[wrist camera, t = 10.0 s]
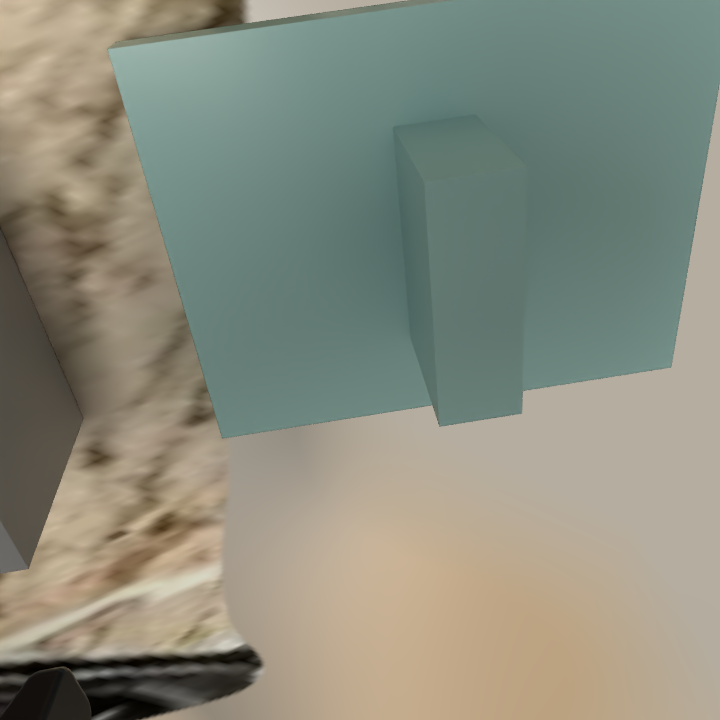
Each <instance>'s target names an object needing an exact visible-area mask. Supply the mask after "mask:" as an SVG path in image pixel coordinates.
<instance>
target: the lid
mask: <svg viewBox="0 0 720 720" xmlns="http://www.w3.org/2000/svg"><path fill="white" fill-rule="evenodd" d="M107 50H108V53H109V56H110V60H111V63H112V66H113V70H114V73H115V77H116V80H117V83H118V87H119V90H120V94H121V97H122V100H123V104H124V107H125V111H126V114H127V117H128V121H129V124H130V127H131V131H132V134H133V138H134V141H135V144H136V148H137V151H138V155H139V158H140V161H141V165H142V168H143V172H144V175H145V178H146V182H147V185H148V189H149V192H150V195H151V199H152V202H153V205H154V209H155V212H156V216H157V219H158V222H159V226H160V229H161V233H162V236H163V239H164V243H165V246H166V250H167V253H168V256H169V260H170V263H171V266H172V270H173V273H174V277H175V280H176V283H177V287H178V290H179V294H180V297H181V300H182V304H183V307H184V311H185V314H186V317H187V321H188V324H189V327H190V331H191V334H192V338H193V341H194V344H195V348H196V351H197V355H198V358H199V361H200V365H201V368H202V372H203V375H204V378H205V382H206V385H207V388H208V392H209V395H210V399H211V402H212V405H213V409H214V412H215V416H216V419H217V422H218V426H219V429H220V433H221V436H222V438H228V437H235V436H241V435H247V434H254V433H260V432H266V431H272V430H279V429H285V428H292V427H297V426H304V425H310V424H316V423H323V422H330V421H336V420H342V419H348V418H355V417H361V416H367V415H374V414H380V413H386V412H393V411H399V410H405V409H412V408H418V407H424V406H431V405H433V408H434V411H435V414H436V417H437V420H438V423H439V426H447V425H453V424H459V423H465V422H472V421H478V420H484V419H490V418H497V417H503V416H509V415H515V414H521V413H522V395H523V391H525V390H531V389H538V388H544V387H550V386H556V385H563V384H570V383H575V382H582V381H588V380H594V379H601V378H607V377H614V376H620V375H626V374H632V373H639V372H645V371H652V370H658V369H664V368H671V365H672V359H673V354H674V348H675V342H676V336H677V330H678V324H679V319H680V312H681V307H682V301H683V295H684V289H685V283H686V277H687V271H688V266H689V260H690V254H691V248H692V242H693V237H694V231H695V225H696V219H697V212H698V207H699V201H700V195H701V189H702V184H703V178H704V172H705V165H706V160H707V154H708V149H709V143H710V136H711V131H712V125H713V119H714V113H715V107H716V102H717V95H718V90H719V84H720V0H409V1H402V2H395V3H388V4H381V5H374V6H367V7H359V8H353V9H345V10H338V11H331V12H324V13H317V14H310V15H303V16H296V17H288V18H281V19H275V20H267V21H260V22H253V23H246V24H239V25H232V26H225V27H218V28H211V29H204V30H196V31H189V32H182V33H175V34H168V35H161V36H154V37H147V38H140V39H133V40H126V41H119V42H115V43H114V44H113V45H112V46H111V47H110V48H108V49H107Z"/></svg>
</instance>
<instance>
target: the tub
mask: <svg viewBox="0 0 720 720" xmlns="http://www.w3.org/2000/svg"><path fill="white" fill-rule="evenodd" d="M82 421H83V417H82V414H81V412H80V410H79V408H78V405H77V403H76V401H75V398H74V396H73V394H72V392H71V389H70V387H69V385H68V382H67V380H66V378H65V376H64V373H63V371H62V369H61V366H60V364H59V362H58V359H57V357H56V355H55V353H54V350H53V348H52V346H51V343H50V341H49V339H48V337H47V334H46V332H45V330H44V327H43V325H42V323H41V321H40V318H39V316H38V314H37V311H36V309H35V307H34V305H33V302H32V300H31V298H30V295H29V293H28V291H27V288H26V286H25V284H24V282H23V279H22V277H21V275H20V272H19V270H18V268H17V266H16V263H15V261H14V259H13V256H12V254H11V252H10V250H9V247H8V245H7V243H6V240H5V238H4V236H3V234H2V231H1V229H0V573H6V572H12V571H18V570H24V569H29V566H30V563H31V561H32V558H33V555H34V552H35V550H36V547H37V544H38V541H39V539H40V536H41V533H42V531H43V528H44V525H45V522H46V520H47V517H48V514H49V511H50V509H51V506H52V503H53V500H54V498H55V495H56V492H57V489H58V487H59V484H60V481H61V479H62V476H63V473H64V470H65V468H66V465H67V462H68V459H69V457H70V454H71V451H72V448H73V446H74V443H75V440H76V437H77V435H78V432H79V429H80V427H81V424H82Z"/></svg>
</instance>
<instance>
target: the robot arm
mask: <svg viewBox="0 0 720 720" xmlns="http://www.w3.org/2000/svg"><path fill="white" fill-rule="evenodd" d="M0 720H91V709H90V704H89V701H88V699H87V697H86V695H85V694H84V692H83V690H82V688H81V687H80V685H79V683H78V682H77V680H76V678H75V677H74V675H73V673H72V672H71V670H70V669H68V668H66V667H58V668H53V669H47V670H41V671H38V672H36V673H34V674H33V675H32V676H30V677H29V678H28V680H27V681H26V682H25V684H24V685H23V686H22V688H21V689H20V690H19V692H18V693H17V694H16V696H15V697H14V698H13V700H12V701H11V702H10V704H9V705H8V706H7V708H6V709H5V710H4V712H3V713H2V714H1V716H0Z"/></svg>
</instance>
